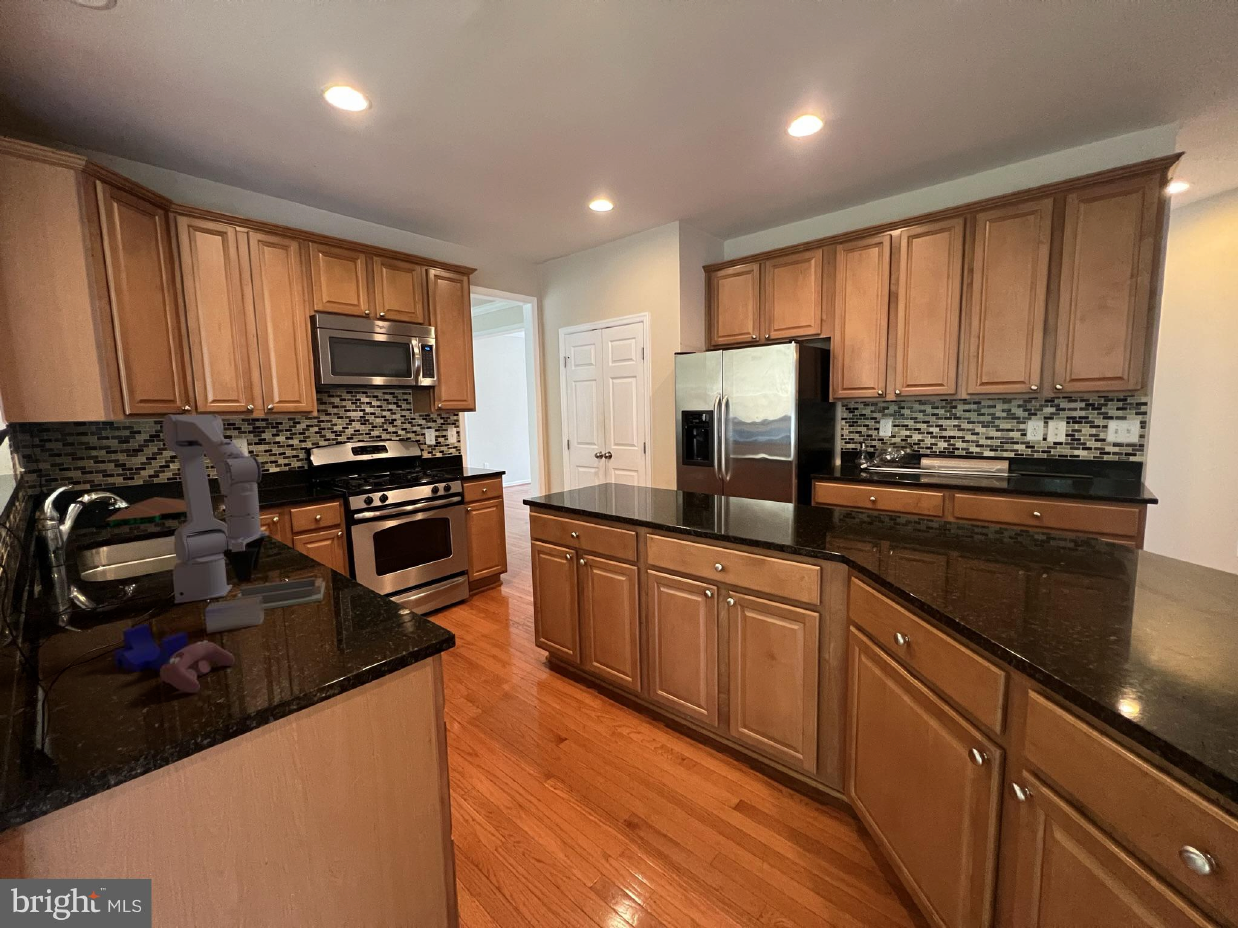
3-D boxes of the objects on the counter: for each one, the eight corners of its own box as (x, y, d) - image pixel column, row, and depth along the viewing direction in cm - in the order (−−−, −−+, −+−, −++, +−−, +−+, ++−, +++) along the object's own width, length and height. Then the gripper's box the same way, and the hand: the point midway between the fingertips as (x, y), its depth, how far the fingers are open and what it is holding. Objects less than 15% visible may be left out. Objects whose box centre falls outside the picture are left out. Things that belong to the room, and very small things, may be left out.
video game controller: (216, 672, 88) (194, 639, 87) (240, 660, 88) (218, 628, 87) (172, 705, 79) (146, 669, 78) (198, 692, 79) (173, 655, 78)
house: (197, 507, 227) (195, 490, 227) (185, 520, 200) (183, 501, 199) (128, 513, 215) (126, 494, 214) (106, 528, 188) (104, 507, 187)
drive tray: (227, 615, 109) (226, 602, 108) (239, 596, 119) (238, 585, 119) (321, 600, 117) (320, 589, 117) (325, 584, 128) (324, 574, 127)
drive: (207, 633, 100) (204, 610, 100) (212, 626, 104) (210, 603, 103) (261, 625, 104) (259, 602, 104) (264, 617, 108) (262, 595, 107)
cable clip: (115, 666, 87) (112, 634, 87) (146, 654, 92) (143, 624, 91) (159, 678, 84) (156, 645, 83) (190, 665, 88) (186, 633, 87)
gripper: (259, 518, 100) (265, 582, 102) (270, 506, 113) (275, 563, 115) (216, 522, 97) (222, 588, 99) (232, 509, 110) (237, 568, 111)
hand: (248, 575), depth 106 cm, fingers open, 7 cm apart
